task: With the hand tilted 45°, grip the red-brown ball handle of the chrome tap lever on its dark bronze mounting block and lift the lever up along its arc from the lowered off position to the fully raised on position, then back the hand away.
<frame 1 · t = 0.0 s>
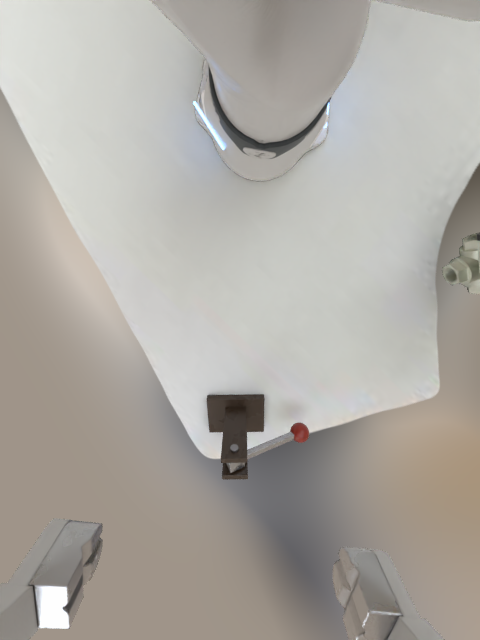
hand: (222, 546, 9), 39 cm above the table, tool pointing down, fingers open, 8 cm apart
ball valve: (462, 263, 43), on the table
tap lever: (270, 445, 47), point 9 cm above the table, hinge at -25.0°
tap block: (236, 411, 55), on the table
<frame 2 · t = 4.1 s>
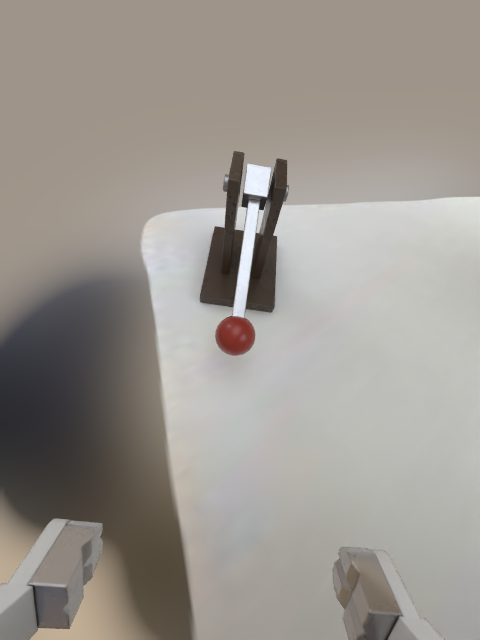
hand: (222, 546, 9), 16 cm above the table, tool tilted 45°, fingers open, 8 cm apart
tap lever: (245, 262, 23), point 9 cm above the table, hinge at -25.0°
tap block: (240, 270, 34), on the table
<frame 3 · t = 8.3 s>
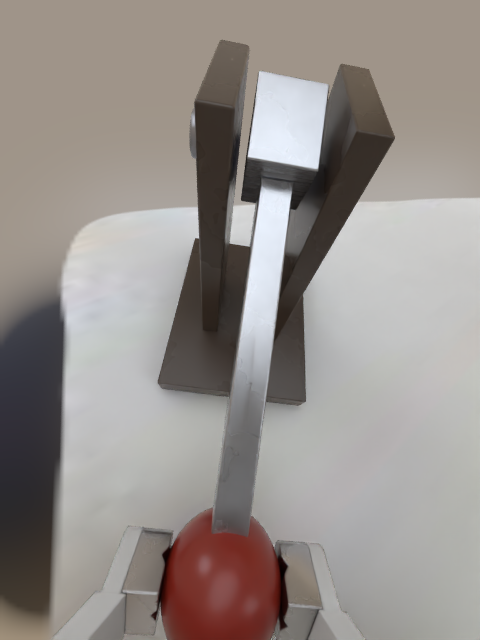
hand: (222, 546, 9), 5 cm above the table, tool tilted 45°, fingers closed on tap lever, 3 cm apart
tap lever: (251, 357, 8), point 9 cm above the table, hinge at -25.0°, touching gripper
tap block: (240, 317, 19), on the table
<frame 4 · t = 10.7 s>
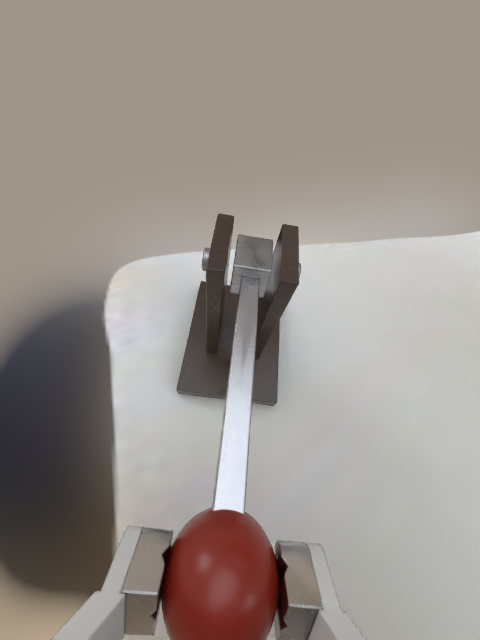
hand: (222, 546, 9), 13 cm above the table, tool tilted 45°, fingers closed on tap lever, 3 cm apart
tap lever: (240, 373, 12), point 13 cm above the table, hinge at 6.0°, touching gripper
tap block: (233, 341, 26), on the table
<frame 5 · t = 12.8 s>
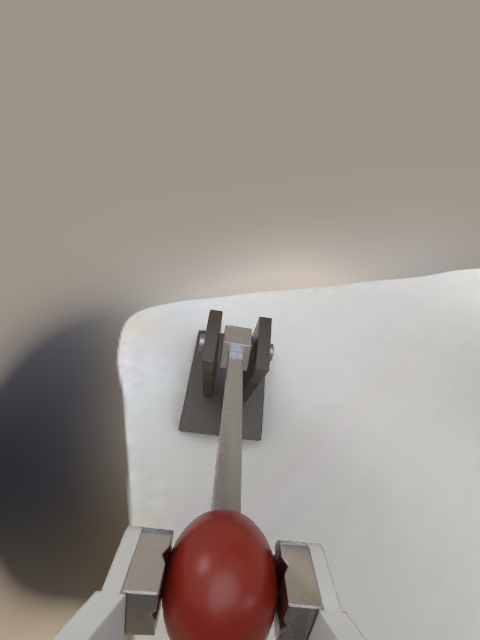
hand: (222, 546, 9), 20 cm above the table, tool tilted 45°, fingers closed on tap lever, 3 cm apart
tap lever: (231, 415, 14), point 16 cm above the table, hinge at 36.0°, touching gripper
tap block: (226, 383, 31), on the table
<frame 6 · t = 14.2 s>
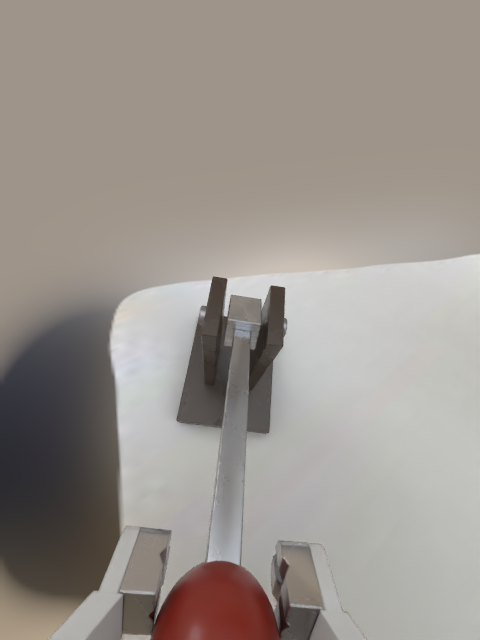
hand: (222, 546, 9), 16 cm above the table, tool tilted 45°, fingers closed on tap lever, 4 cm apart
tap lever: (234, 417, 12), point 15 cm above the table, hinge at 22.2°, touching gripper
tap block: (230, 370, 28), on the table
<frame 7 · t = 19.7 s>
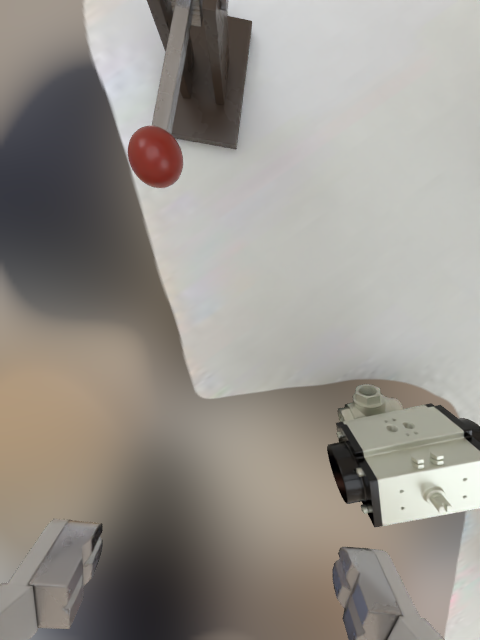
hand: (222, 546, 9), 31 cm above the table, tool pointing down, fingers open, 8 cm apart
ball valve: (362, 402, 43), on the table
tap lever: (172, 72, 18), point 15 cm above the table, hinge at 22.2°
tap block: (206, 86, 30), on the table
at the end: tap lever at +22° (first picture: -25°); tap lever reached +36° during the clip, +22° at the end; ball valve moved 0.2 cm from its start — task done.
